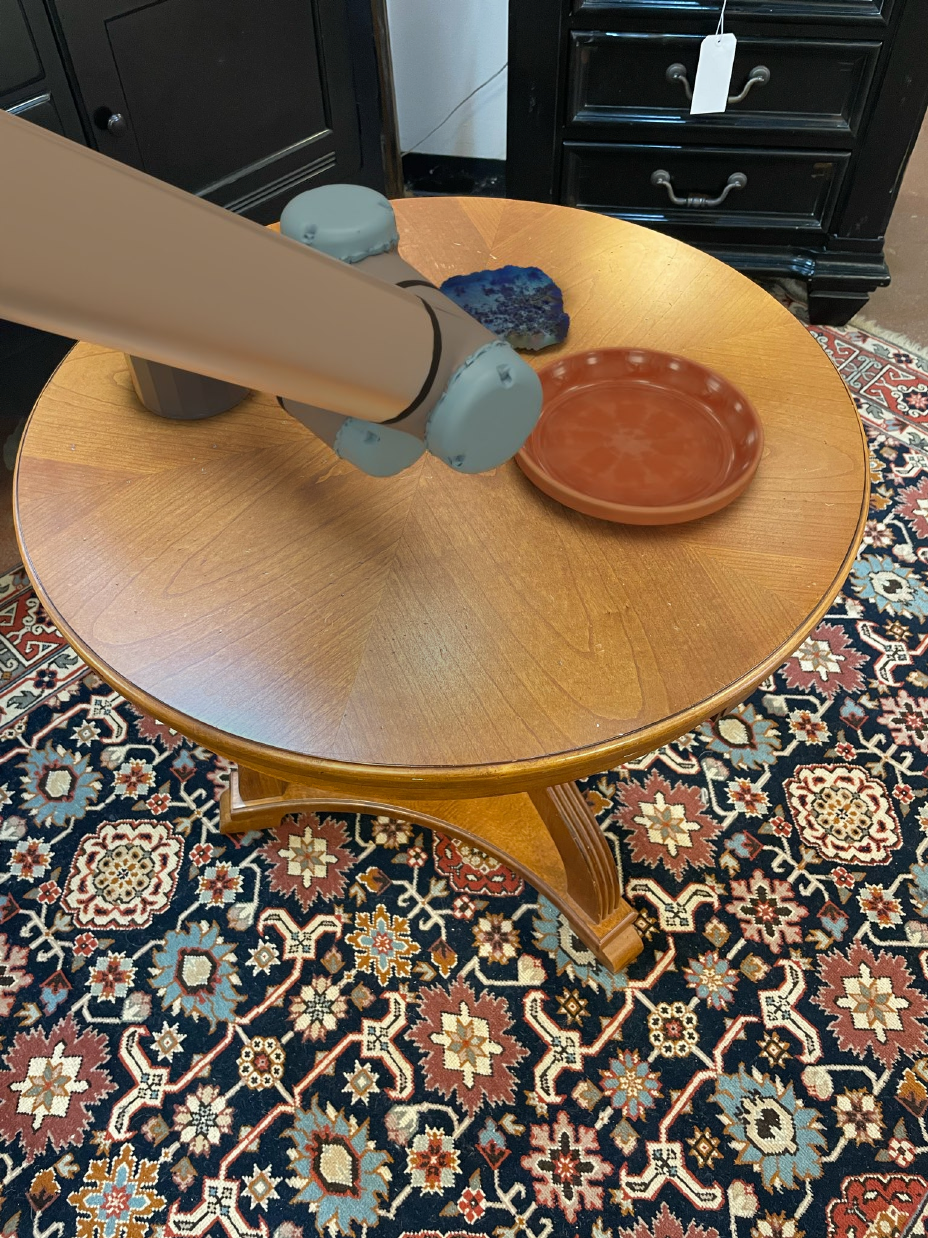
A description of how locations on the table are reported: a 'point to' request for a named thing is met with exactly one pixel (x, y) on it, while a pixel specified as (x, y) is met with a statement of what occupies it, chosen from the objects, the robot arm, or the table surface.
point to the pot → (181, 390)
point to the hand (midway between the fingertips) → (133, 237)
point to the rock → (512, 304)
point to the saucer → (641, 436)
